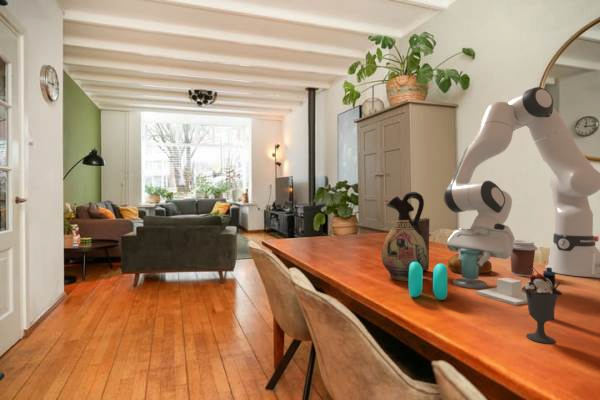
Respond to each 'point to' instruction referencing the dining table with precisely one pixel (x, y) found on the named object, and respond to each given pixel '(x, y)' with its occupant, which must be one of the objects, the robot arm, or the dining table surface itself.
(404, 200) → the ceramic jug
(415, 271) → the donuts
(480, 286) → the dish
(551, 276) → the vaping device
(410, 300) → the dining table surface
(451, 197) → the robot arm
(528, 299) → the sundae
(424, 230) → the brown tall cylinder
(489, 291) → the white cube on base
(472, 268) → the teal domed cylinder
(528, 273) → the coffee cup
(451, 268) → the brown oval lump
